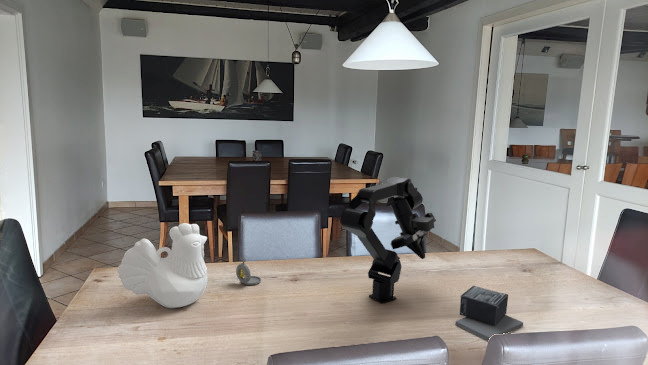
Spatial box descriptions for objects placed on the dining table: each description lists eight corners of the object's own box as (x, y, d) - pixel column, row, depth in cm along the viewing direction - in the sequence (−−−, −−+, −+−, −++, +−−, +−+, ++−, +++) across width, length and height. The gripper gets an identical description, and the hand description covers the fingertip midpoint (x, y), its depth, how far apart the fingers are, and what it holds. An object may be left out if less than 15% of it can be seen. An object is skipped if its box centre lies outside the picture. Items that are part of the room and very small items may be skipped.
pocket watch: (262, 279, 154) (263, 252, 152) (256, 288, 146) (257, 259, 144) (240, 277, 155) (240, 250, 153) (233, 287, 147) (232, 258, 145)
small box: (458, 316, 127) (495, 327, 121) (459, 295, 126) (496, 305, 120) (472, 304, 135) (507, 314, 129) (473, 284, 134) (508, 293, 128)
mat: (489, 342, 115) (489, 337, 115) (455, 325, 124) (455, 321, 124) (522, 326, 125) (523, 322, 124) (488, 311, 133) (489, 307, 133)
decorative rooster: (207, 289, 144) (206, 215, 140) (209, 309, 130) (208, 228, 126) (125, 296, 137) (121, 219, 133) (117, 319, 122) (112, 233, 118)
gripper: (408, 216, 130) (430, 264, 130) (437, 199, 144) (457, 243, 143) (381, 225, 138) (401, 271, 137) (410, 208, 151) (429, 250, 151)
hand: (423, 258), depth 142 cm, fingers closed
